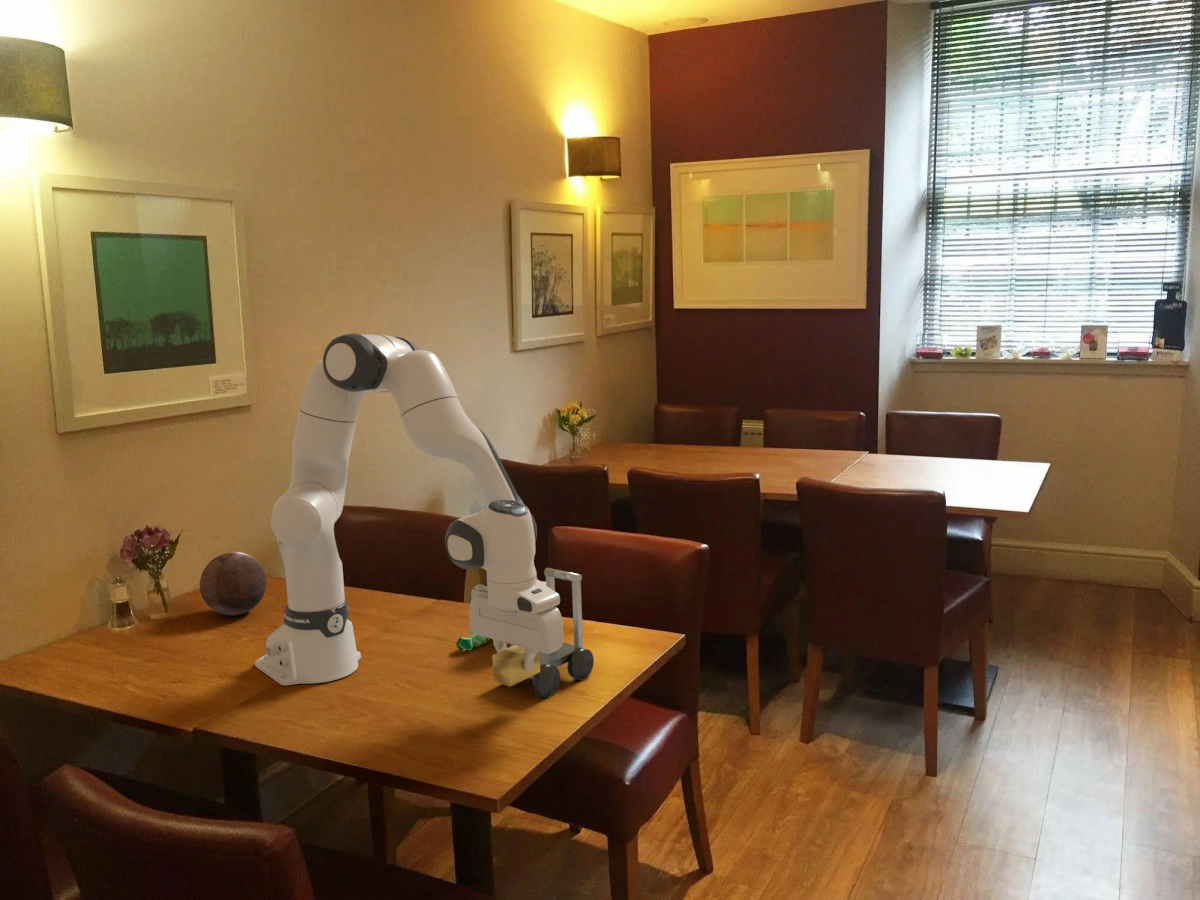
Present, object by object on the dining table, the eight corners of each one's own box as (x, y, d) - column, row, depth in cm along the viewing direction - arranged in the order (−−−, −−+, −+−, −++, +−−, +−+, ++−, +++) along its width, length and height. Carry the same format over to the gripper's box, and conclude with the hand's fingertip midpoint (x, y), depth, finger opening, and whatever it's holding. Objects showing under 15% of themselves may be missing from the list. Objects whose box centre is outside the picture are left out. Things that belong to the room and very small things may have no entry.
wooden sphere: (281, 605, 247) (275, 545, 244) (246, 625, 232) (240, 563, 230) (226, 602, 250) (221, 544, 247) (189, 622, 236) (183, 560, 233)
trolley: (550, 661, 204) (546, 564, 201) (594, 674, 197) (590, 573, 194) (494, 687, 192) (489, 584, 189) (539, 702, 185) (534, 595, 182)
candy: (486, 629, 223) (494, 616, 221) (497, 639, 222) (505, 626, 220) (453, 647, 212) (461, 634, 211) (465, 658, 211) (473, 644, 210)
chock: (493, 681, 179) (492, 655, 178) (524, 667, 185) (522, 641, 184) (510, 686, 177) (508, 659, 176) (540, 671, 183) (539, 645, 182)
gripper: (459, 586, 182) (463, 659, 185) (542, 606, 169) (546, 684, 172) (483, 578, 187) (487, 648, 189) (567, 596, 174) (570, 672, 177)
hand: (516, 665), depth 180 cm, fingers closed on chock, 4 cm apart
